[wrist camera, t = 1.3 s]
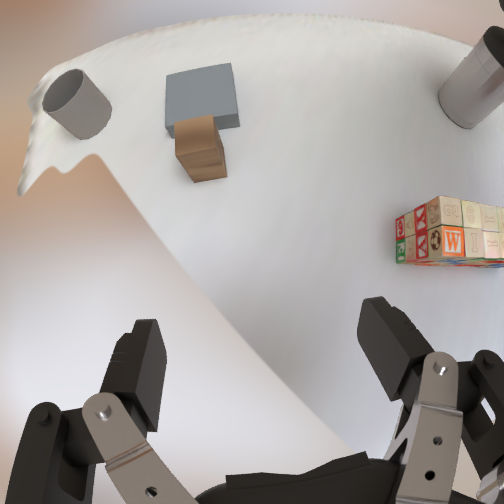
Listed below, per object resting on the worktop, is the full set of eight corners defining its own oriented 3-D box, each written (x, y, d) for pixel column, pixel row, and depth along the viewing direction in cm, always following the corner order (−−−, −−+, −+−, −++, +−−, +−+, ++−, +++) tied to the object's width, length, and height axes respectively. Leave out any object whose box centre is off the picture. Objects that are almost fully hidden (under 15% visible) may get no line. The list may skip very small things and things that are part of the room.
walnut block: (192, 153, 39) (174, 122, 30) (223, 148, 39) (212, 114, 30) (194, 182, 39) (175, 155, 30) (227, 177, 39) (216, 147, 30)
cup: (77, 106, 42) (49, 79, 32) (114, 94, 42) (89, 61, 32) (70, 145, 41) (37, 120, 31) (108, 133, 41) (77, 102, 31)
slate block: (173, 89, 41) (166, 75, 37) (233, 78, 41) (230, 62, 37) (173, 139, 40) (165, 126, 36) (240, 127, 40) (237, 113, 36)
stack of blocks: (496, 231, 36) (545, 216, 23) (497, 268, 35) (548, 262, 23) (394, 219, 37) (439, 194, 25) (394, 264, 36) (443, 255, 24)
